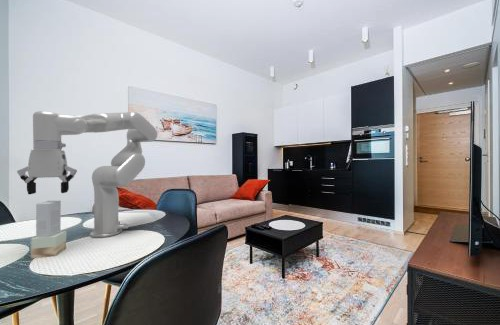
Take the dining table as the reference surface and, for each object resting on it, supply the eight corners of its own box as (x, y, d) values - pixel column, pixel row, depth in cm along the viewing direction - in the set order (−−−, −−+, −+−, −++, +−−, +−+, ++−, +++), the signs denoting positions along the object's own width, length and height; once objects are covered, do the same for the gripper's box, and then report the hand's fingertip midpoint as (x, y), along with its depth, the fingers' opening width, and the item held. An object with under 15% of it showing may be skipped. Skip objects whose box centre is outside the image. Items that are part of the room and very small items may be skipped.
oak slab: (65, 248, 84) (65, 239, 84) (55, 256, 77) (55, 246, 77) (43, 250, 82) (43, 241, 82) (30, 258, 75) (30, 248, 75)
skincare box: (47, 232, 82) (48, 200, 82) (60, 231, 82) (61, 200, 82) (35, 237, 76) (35, 203, 76) (49, 237, 77) (49, 203, 77)
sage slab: (66, 239, 84) (66, 230, 84) (55, 246, 77) (55, 236, 77) (44, 241, 82) (44, 232, 82) (31, 248, 75) (31, 238, 75)
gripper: (80, 147, 85) (81, 190, 85) (25, 146, 80) (26, 192, 81) (71, 146, 78) (71, 193, 78) (9, 145, 73) (10, 196, 73)
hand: (48, 193), depth 79 cm, fingers open, 9 cm apart
